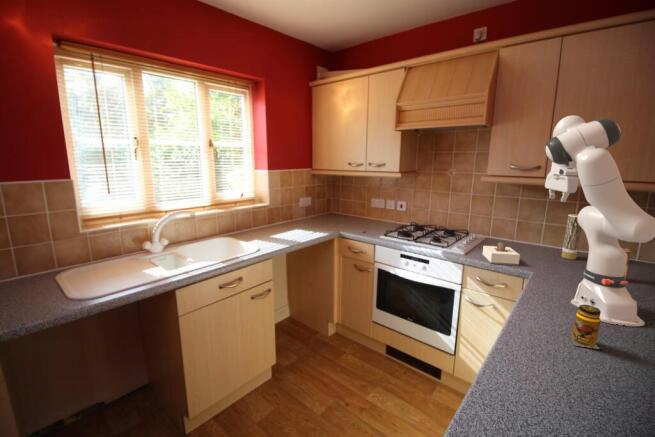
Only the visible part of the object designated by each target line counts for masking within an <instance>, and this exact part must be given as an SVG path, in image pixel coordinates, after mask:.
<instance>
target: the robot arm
mask: <svg viewBox="0 0 655 437" xmlns="http://www.w3.org/2000/svg"><path fill="white" fill-rule="evenodd" d="M621 132H622V131H621V127H620V126H619V125H618V123H617V122H616V121H615V120H614V119H612V118H599V119H598V118H593V120H591V121H589V122H586V121H585V119H584V118H583V117H581V116H579V115H575V114H574V115H567V116H565V117H563V118H562V119H561V118H560V120H559V121H558V122H557V124H556V125H555V126H554V129H553V132H552V138H550V139H549V140H548V141H546V143H545V153H546V154H545V155H546V157H547V158H548V159H549V160H550V161H551V162H552V163H551V167H550V171H549V173H547V176H546V179H545V183H544V187H545V189H547V190H548V189H549V190H548V193H549V199H551V200H555V199H556V194H555V192H556V191H557V192H562V193H561V194H562V196H561V197H560V200H559V201H560V202H561V203H566V202H567V199H568V197H569V196H570V194H575V193H576V192H577V191H578V186H579V183H580V185H581V188H582V192H583V195H584V198H585V200H586V201H587V203H588V204H589V205H587V206H585V207H583V208H582V209H581V210H580V211H579V213H578V214H577V215H578V224H579V225H580V226H581V227H582V229H581V230H583V233H584V234H585V236H586V240H587V243H588V255H587V263H586V267H584V270H583V274H582V275H583V279H582V280H581V281H580V282H579V283H578V286H577V289H576V293H575V295H574V298H572V299H571V301H570V304H572V305H573V306H574V307H577V308H578V309H579V306H580V305H590V306H593V307H596V308H598V309H599V310H600V312H601V313H600V317H599V318H600V320H601V322H603V323H607V324H611V325H616V324H618V325H617V326H623V325H625V327H643V326H645V321H644V320H643V319H641V318H640V317H639V316H638V306H637V305H638V302H637V300H635V299H633V298H632V296H631V294H630V292H629V291H628V290H627V288H626V287H627V284H628V283H629V281H627V279H626V278H625V275H624V272H625V268H626V263H627V258H628V257H627V254H626V252H625V251H624V250H623V249H622V247H621V245H620V244H619V240H621V241H624V242H628V243H639V244H643V243H644V244H645V243H648V242H650V241H652V240H653V239H654V238H655V217H654V216H652V215H651V214H649V213H647V212H646V211H645V210H643V209H642V208H641V207H640V206H639V205H638V204H637V203H636V202H635V201H634V200H633V198H631V196H630V195H629V193H628V192H627V189H626V187H625V184H624V181H623V179H622V176H621V173H620V170H619V167H618V165H617V163H616V161H615V159H614V158H613V155H612V154H611V152H609V150H607V149H606V148H610V147H612V146H614V145H616V144H618V143H619V142H620V139H621V136H622V134H621Z"/></svg>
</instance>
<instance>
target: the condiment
mask: <svg viewBox="0 0 655 437" xmlns="http://www.w3.org/2000/svg"><path fill="white" fill-rule="evenodd" d="M600 313H601V312H600V310H599V309H598V308H596V307H593V306H590V305H580V306H579V308H578V310H577V312H576V313H575V318H574V323H573V328H572V332H571V333H572V339H573V340H574V341H575V342H576V343H578V344H581V345H584V346H590V347H592V346H595V345H596V343H597V341H598V336H599V332H600V326H601V322H602V321H601V320H600V318H599V317H600Z"/></svg>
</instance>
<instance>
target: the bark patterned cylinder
mask: <svg viewBox="0 0 655 437" xmlns="http://www.w3.org/2000/svg"><path fill="white" fill-rule="evenodd" d="M582 230H583V229H582V227H581V226H580V225H579V224H578V214H573V213H572V214H571V213H569V214H568V215H567V220H566V226H565V233H564V239H563V244H562V251H561V257H562V258H563V259H566V260H571V261H572V260H573V261H574V260H576V259H577V255H578V250H579V245H580V244H579V243H580V240H581V233H582Z"/></svg>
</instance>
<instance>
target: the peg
mask: <svg viewBox="0 0 655 437" xmlns="http://www.w3.org/2000/svg"><path fill="white" fill-rule="evenodd" d="M506 245H507V243H505V242H501V241H499V242H497V245H496V246H497V251H499V252H505V247H507V246H506Z"/></svg>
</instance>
